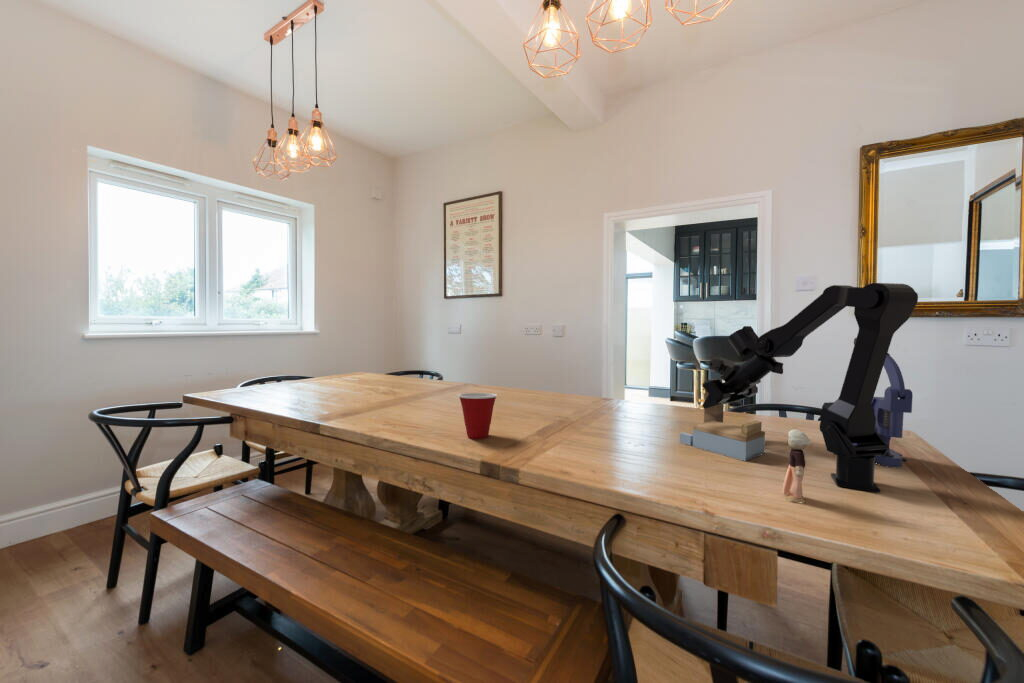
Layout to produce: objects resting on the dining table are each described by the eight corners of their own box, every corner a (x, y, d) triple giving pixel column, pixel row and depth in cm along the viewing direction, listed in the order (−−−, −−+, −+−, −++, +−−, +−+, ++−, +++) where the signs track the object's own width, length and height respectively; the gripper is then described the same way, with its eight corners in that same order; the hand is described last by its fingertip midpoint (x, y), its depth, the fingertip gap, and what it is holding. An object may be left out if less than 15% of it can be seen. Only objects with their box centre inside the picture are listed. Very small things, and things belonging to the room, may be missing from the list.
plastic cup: (497, 430, 117) (497, 389, 116) (496, 441, 106) (496, 397, 106) (460, 430, 117) (460, 389, 116) (455, 442, 106) (455, 397, 106)
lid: (764, 435, 97) (765, 421, 97) (745, 441, 92) (746, 426, 92) (712, 424, 108) (712, 411, 108) (693, 429, 103) (693, 415, 103)
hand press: (923, 472, 86) (930, 341, 85) (873, 468, 88) (880, 340, 87) (871, 445, 104) (876, 338, 103) (831, 443, 106) (836, 337, 105)
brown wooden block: (722, 436, 112) (724, 388, 111) (715, 438, 110) (717, 389, 109) (710, 433, 115) (711, 386, 114) (703, 435, 113) (705, 387, 112)
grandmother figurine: (776, 489, 77) (779, 423, 76) (800, 492, 75) (803, 425, 75) (787, 506, 70) (790, 434, 69) (814, 510, 68) (817, 436, 68)
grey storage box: (764, 454, 97) (764, 436, 97) (745, 461, 92) (745, 442, 92) (698, 437, 111) (699, 421, 111) (679, 442, 106) (679, 426, 106)
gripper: (747, 346, 113) (708, 380, 123) (710, 349, 103) (671, 386, 112) (777, 377, 107) (734, 411, 117) (741, 383, 96) (697, 419, 106)
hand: (709, 406), depth 113 cm, fingers open, 5 cm apart
